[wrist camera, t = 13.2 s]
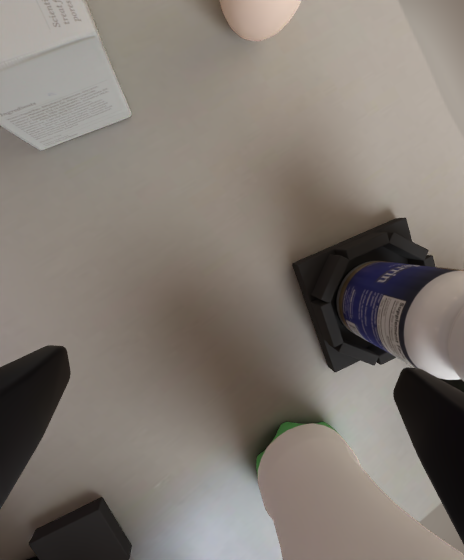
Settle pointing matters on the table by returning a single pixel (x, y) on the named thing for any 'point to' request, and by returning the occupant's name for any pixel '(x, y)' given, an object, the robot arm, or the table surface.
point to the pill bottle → (408, 313)
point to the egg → (258, 16)
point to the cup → (335, 503)
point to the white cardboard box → (55, 73)
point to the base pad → (82, 536)
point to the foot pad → (329, 275)
